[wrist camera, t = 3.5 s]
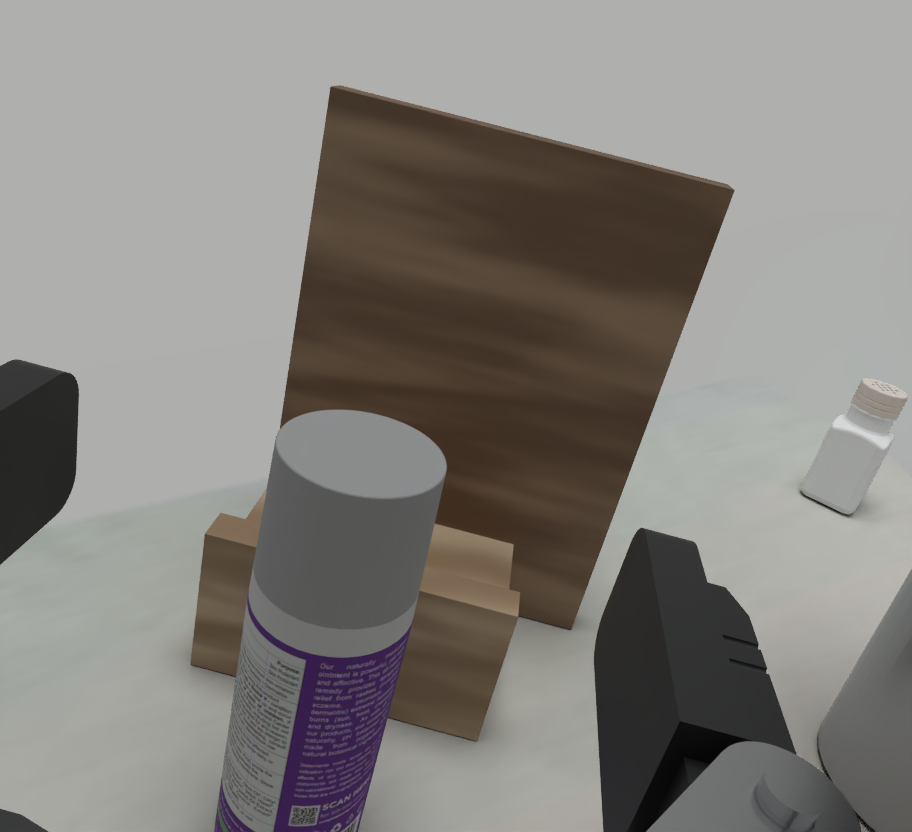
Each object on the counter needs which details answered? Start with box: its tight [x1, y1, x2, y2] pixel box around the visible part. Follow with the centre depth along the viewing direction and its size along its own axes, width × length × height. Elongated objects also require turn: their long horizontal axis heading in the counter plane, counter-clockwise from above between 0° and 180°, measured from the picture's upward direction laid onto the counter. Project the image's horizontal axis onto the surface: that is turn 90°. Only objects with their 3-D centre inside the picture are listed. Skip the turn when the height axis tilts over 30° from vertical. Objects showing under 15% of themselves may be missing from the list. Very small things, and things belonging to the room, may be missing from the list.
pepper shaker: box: [802, 378, 908, 514], centre depth 59 cm, size 4×4×10 cm
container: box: [215, 410, 447, 832], centre depth 24 cm, size 5×5×15 cm
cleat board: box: [191, 86, 734, 741], centre depth 32 cm, size 10×16×22 cm, turn 83°
